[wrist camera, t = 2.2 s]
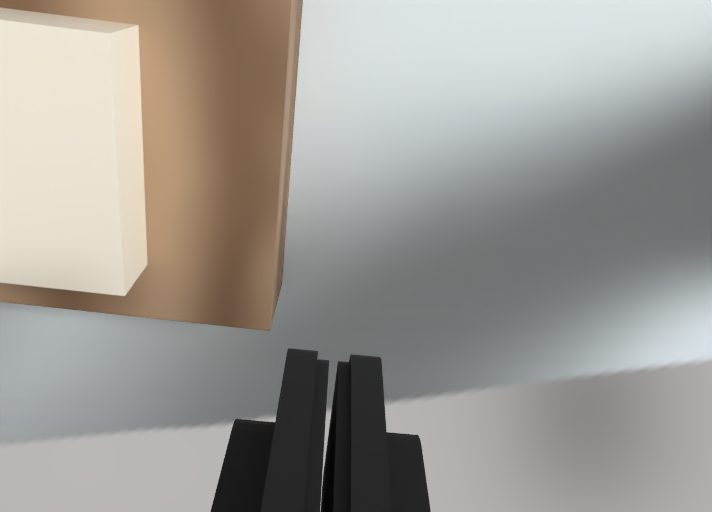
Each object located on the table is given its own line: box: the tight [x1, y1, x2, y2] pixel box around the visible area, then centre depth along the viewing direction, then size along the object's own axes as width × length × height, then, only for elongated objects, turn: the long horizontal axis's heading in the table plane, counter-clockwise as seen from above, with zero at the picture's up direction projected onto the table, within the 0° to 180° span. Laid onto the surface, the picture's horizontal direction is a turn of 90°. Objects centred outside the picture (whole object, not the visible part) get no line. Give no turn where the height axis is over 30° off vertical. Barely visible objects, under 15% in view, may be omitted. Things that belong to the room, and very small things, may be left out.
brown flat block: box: [0, 0, 303, 331], centre depth 24 cm, size 16×14×4 cm
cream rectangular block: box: [0, 8, 147, 296], centre depth 21 cm, size 6×9×2 cm, turn 173°
